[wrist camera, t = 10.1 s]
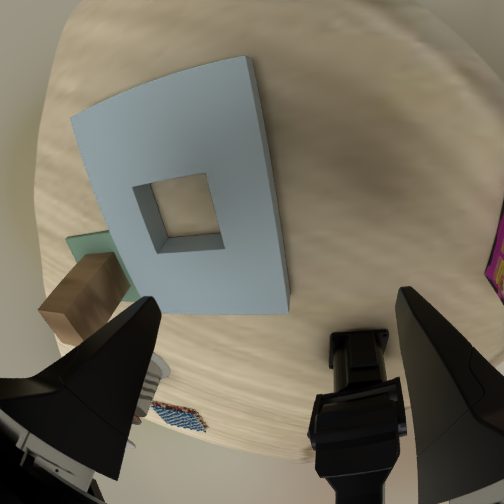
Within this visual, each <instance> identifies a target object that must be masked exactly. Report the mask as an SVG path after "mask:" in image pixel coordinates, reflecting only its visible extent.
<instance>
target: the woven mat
mask: <svg viewBox="0 0 504 504" xmlns="http://www.w3.org/2000/svg"><path fill="white" fill-rule="evenodd" d="M151 402H152V404H151V405H153V406H151V407H152V408H153V409H154V411H155V412H156V413H157V414H158V415H159V416H161V418H162V419H163V420H164V421H165V422H166V423H169V424H171V425H172V426H173V425H177V427H179V426H181V427H183V428H190V429H191V430H192V429H196V430H197V431H199V430H201V431H202V430H203V431H204V432H206V431H205V430H206V429H208V428H209V427H208V426H206V423H205V422H203V418H201V417H200V416H198V415H199V414H198V412H195V411H196V410H195V409H190V408H185V407H179V406H174V405H169V404H165V403H160V402H156V401H151ZM179 408H180V409H179ZM198 429H199V430H198Z"/></svg>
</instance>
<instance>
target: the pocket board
mask: <svg viewBox="0 0 504 504" xmlns="http://www.w3.org/2000/svg"><path fill="white" fill-rule="evenodd" d="M70 119H71V123H72V127H73V130H74V134H75V137H76V141H77V144H78V147H79V151H80V154H81V157H82V160H83V163H84V166H85V169H86V172H87V175H88V178H89V181H90V183H91V186H92V189H93V192H94V194H95V197H96V199H97V202H98V205H99V207H100V210H101V212H102V215H103V217H104V220H105V222H106V224H107V227H108V229H109V231H110V234H111V236H112V238H113V241H114V243H115V245H116V247H117V250H118V252H119V254H120V256H121V258H122V260H123V262H124V264H125V267H126V269H127V271H128V273H129V275H130V277H131V279H132V281H133V283H134V285H135V287H136V289H137V291H138V293H139V294H140V296H141V297H143V296H153V297H154V298H155V300H156V302H157V304H158V306H159V308H160V310H161V313H166V314H197V315H272V314H289V305H290V288H289V280H288V273H287V265H286V258H285V250H284V243H283V236H282V229H281V222H280V216H279V209H278V202H277V196H276V190H275V183H274V177H273V171H272V165H271V159H270V153H269V147H268V141H267V136H266V130H265V124H264V119H263V113H262V108H261V102H260V97H259V92H258V87H257V82H256V76H255V71H254V66H253V62H252V59H251V58H249V57H247V56H245V55H244V56H239V57H234V58H230V59H225V60H221V61H216V62H212V63H208V64H204V65H201V66H197V67H193V68H190V69H186V70H183V71H180V72H177V73H173V74H170V75H167V76H164V77H161V78H158V79H156V80H153V81H150V82H147V83H145V84H142V85H139V86H137V87H134V88H132V89H129V90H127V91H125V92H122V93H120V94H117V95H115V96H113V97H111V98H108V99H106V100H104V101H102V102H100V103H98V104H96V105H94V106H92V107H90V108H88V109H86V110H84V111H82V112H80V113H78V114H76V115H74V116H72V117H71V118H70ZM200 173H206V177H207V181H208V185H209V189H210V193H211V197H212V201H213V205H214V209H215V212H216V216H217V220H218V224H219V228H220V231H221V233H217V234H206V235H195V236H184V237H174V238H168V236H167V233H166V230H165V227H164V224H163V222H162V219H161V216H160V213H159V210H158V207H157V204H156V201H155V198H154V195H153V192H152V189H151V186H150V183H153V182H158V181H163V180H168V179H173V178H178V177H183V176H189V175H195V174H200Z"/></svg>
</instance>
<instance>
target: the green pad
mask: <svg viewBox="0 0 504 504" xmlns="http://www.w3.org/2000/svg"><path fill="white" fill-rule="evenodd" d="M65 240H66V242H67V244H68V246H69V248H70V250H71V252H72V254H73V256H74V258H75V260H76V262H77V263H78V262H79V261H80V260H81V259H82V258H83V256H84V255H85V254H95V253H106V252H114V253H115V255H116V257H117V260H118V262H119V264H120V266H121V268H122V270H123V272H124V274H125V276H126V278H127V280H128V282H129V284H130V286H131V287H130V288H129V290H128V291H127V293H126V294H125V296H124V297H123V299H122V300H121V301H130V302H136V301H137V300H139V299H140V298H141V296H140V294H139V293H138V291H137V289H136V287H135V285H134V283H133V281H132V279H131V277H130V275H129V273H128V271H127V269H126V267H125V264H124V262H123V260H122V258H121V256H120V254H119V252H118V250H117V247H116V245H115V243H114V241H113V238H112V236H111V234H110V231H104V232H97V233H91V234H85V235H78V236H72V237H67V238H66V239H65Z"/></svg>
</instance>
